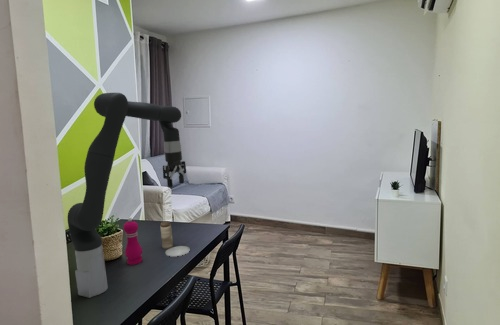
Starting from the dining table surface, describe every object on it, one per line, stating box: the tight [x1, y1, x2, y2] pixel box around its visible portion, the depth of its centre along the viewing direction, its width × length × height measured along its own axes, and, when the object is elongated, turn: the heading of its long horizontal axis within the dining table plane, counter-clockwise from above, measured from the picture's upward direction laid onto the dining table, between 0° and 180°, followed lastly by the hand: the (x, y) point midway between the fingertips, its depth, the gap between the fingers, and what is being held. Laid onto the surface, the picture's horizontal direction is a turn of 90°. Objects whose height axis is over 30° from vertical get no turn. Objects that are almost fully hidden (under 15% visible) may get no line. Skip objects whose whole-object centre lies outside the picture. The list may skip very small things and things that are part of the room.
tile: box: [165, 245, 191, 258], centre depth 163 cm, size 11×11×1 cm
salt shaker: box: [159, 220, 174, 250], centre depth 169 cm, size 5×5×12 cm
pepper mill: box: [123, 217, 143, 266], centre depth 153 cm, size 7×7×20 cm
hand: (176, 185), depth 165 cm, fingers open, 8 cm apart
